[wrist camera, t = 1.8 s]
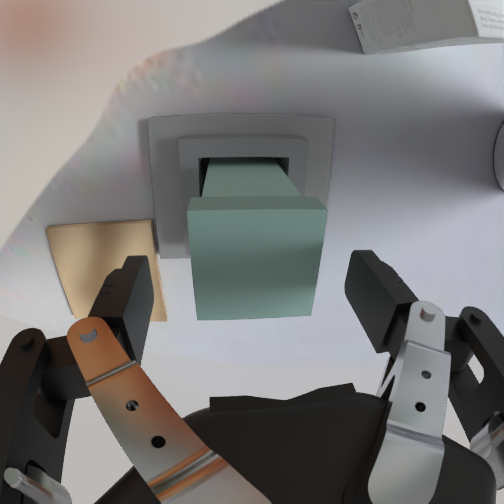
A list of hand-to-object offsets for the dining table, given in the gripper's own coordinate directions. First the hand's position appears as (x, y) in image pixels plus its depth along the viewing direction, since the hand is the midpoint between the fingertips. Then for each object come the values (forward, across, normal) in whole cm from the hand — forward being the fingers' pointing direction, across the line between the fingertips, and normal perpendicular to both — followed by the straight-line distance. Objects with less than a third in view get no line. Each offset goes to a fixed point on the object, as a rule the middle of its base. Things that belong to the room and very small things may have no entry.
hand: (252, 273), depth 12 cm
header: (+12, 0, 0) cm, 12 cm away
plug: (+12, 0, 0) cm, 12 cm away
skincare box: (+12, -11, -14) cm, 22 cm away
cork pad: (+12, +12, +8) cm, 18 cm away
